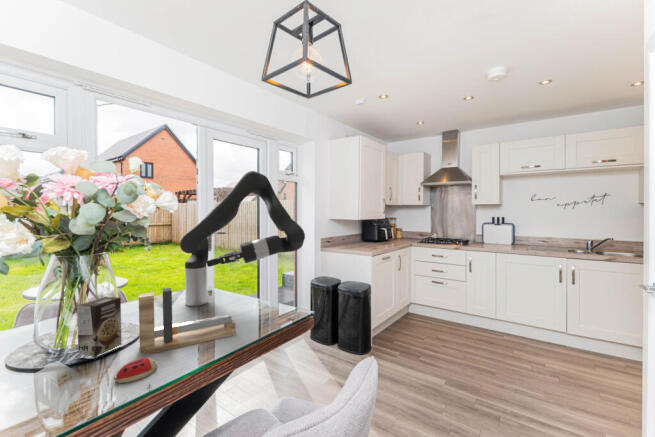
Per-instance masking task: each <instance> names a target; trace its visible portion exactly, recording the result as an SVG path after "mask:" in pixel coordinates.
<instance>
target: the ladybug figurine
mask: <svg viewBox="0 0 655 437" xmlns="http://www.w3.org/2000/svg"><path fill="white" fill-rule="evenodd" d="M157 368H158V363H157V362H156V361H155V360H154V359H153V358H151V357H144V358H143V357H142V358H139V359H135V360H133V361H130V362H128V363H126V364H125V365H123V366H122V367H121V368H120V369H119V370H118V372H117V373H116V375H115V377H114V381H115V382H116V383H119V384H124V383H125V384H126V383H131V382H135V381H137V380H138V381H139V380H140V379H143V378H145V377H147V376H149V375H151V374H152V373H154V372H155V371H156V370H157Z"/></svg>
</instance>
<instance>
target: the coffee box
mask: <svg viewBox="0 0 655 437" xmlns="http://www.w3.org/2000/svg"><path fill="white" fill-rule="evenodd" d="M121 299H122V298H121V297H115V296H113V297H111V296H110V297H109V296H104V297H101V298H97V299H93V300H91V301H87V302H84V303H81V304H77V354H78V353H80V354H83V355H87V356H92V357H96V356H97V355H99V354H102V353H104V352H106V351H108V350H111V349H113V348H115V347H117V346H119V345H122V303H121V301H122V300H121Z"/></svg>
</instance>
